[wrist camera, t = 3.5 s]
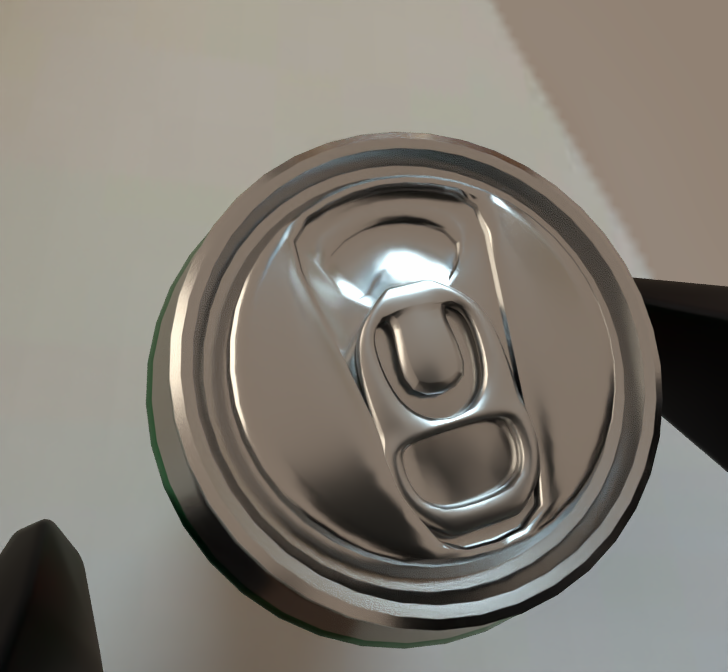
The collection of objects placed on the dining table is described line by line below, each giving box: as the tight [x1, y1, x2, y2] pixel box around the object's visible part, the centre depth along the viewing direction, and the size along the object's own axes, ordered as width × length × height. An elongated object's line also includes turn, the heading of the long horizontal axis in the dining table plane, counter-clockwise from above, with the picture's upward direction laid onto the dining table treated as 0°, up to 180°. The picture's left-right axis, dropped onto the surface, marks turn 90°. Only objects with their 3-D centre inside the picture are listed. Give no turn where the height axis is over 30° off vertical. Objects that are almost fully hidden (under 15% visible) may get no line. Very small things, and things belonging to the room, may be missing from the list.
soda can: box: [146, 132, 663, 649], centre depth 10 cm, size 5×5×12 cm
